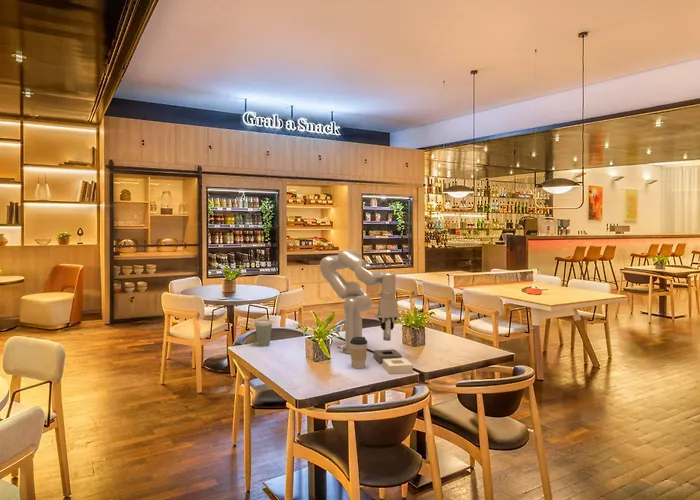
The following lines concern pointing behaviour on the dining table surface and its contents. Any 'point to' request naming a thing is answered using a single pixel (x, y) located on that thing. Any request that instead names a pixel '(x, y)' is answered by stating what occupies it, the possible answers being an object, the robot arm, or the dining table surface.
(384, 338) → the pin
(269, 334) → the disposable coffee cup
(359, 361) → the coffee cup
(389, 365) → the socket block
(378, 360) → the block
